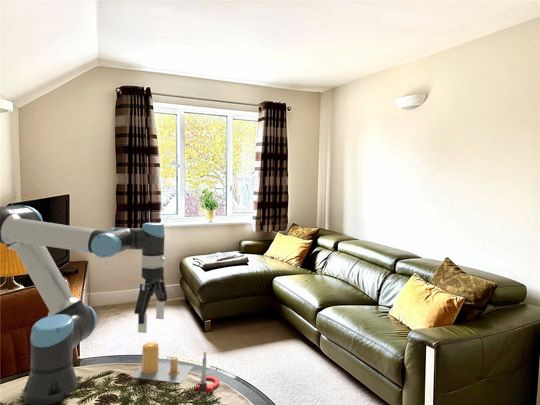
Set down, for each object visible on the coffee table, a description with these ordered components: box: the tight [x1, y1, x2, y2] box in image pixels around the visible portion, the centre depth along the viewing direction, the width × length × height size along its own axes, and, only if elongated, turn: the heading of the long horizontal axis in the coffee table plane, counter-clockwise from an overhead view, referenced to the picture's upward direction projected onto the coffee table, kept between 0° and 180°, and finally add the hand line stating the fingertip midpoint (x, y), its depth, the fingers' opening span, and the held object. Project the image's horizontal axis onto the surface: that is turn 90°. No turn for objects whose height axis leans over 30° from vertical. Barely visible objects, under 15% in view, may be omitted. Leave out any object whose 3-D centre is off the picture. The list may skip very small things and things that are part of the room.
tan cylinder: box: [141, 341, 160, 374], centre depth 132 cm, size 5×5×9 cm
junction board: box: [131, 356, 194, 384], centre depth 131 cm, size 18×12×6 cm, turn 82°
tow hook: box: [194, 351, 220, 393], centre depth 127 cm, size 8×13×9 cm
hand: (151, 325), depth 132 cm, fingers open, 13 cm apart
